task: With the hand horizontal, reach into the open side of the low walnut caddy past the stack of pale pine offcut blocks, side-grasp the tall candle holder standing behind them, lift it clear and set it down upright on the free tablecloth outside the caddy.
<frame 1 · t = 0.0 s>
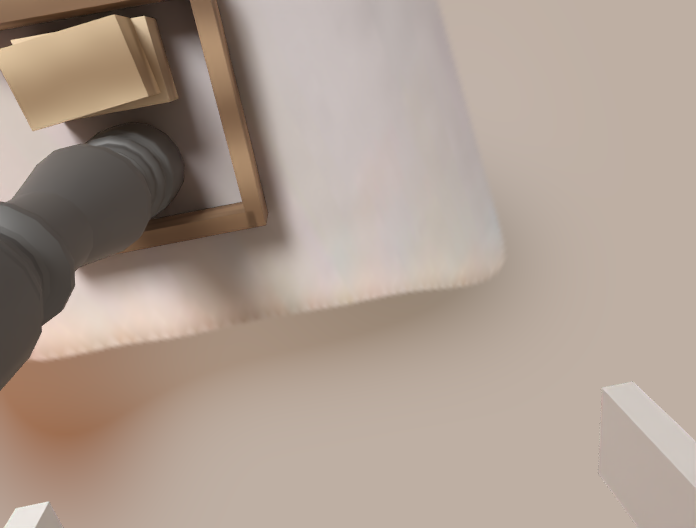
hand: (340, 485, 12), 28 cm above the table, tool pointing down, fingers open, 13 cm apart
offcut lower: (109, 70, 34), on the table, touching offcut upper
walnut caddy: (125, 124, 35), on the table
offcut upper: (91, 73, 31), point 3 cm above the table, touching offcut lower
candle holder: (140, 166, 36), on the table
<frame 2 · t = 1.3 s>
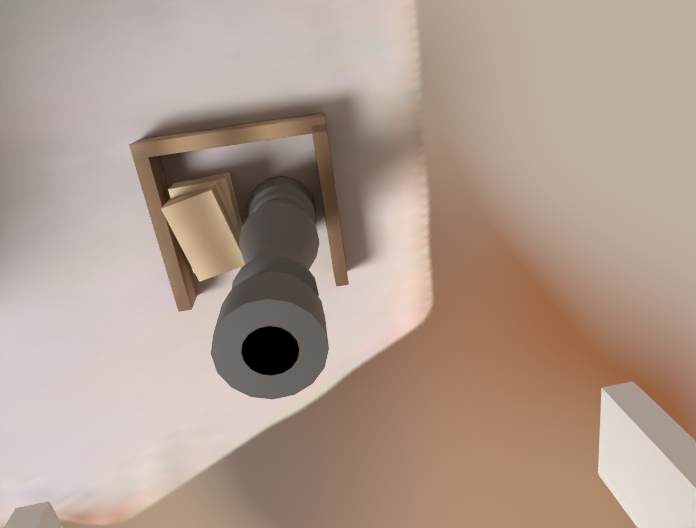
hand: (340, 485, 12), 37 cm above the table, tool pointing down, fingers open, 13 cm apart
offcut lower: (214, 217, 47), on the table, touching offcut upper
walnut caddy: (250, 213, 47), on the table
offcut upper: (210, 226, 45), point 3 cm above the table, touching offcut lower
candle holder: (282, 208, 48), on the table
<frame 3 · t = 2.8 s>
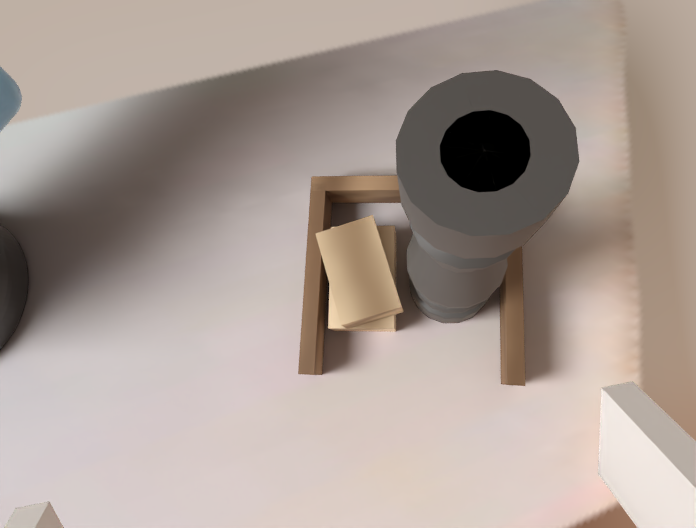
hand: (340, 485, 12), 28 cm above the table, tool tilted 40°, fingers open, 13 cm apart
offcut lower: (366, 283, 41), on the table, touching offcut upper
walnut caddy: (411, 284, 40), on the table
offcut upper: (362, 276, 39), point 3 cm above the table, touching offcut lower
candle holder: (449, 285, 40), on the table
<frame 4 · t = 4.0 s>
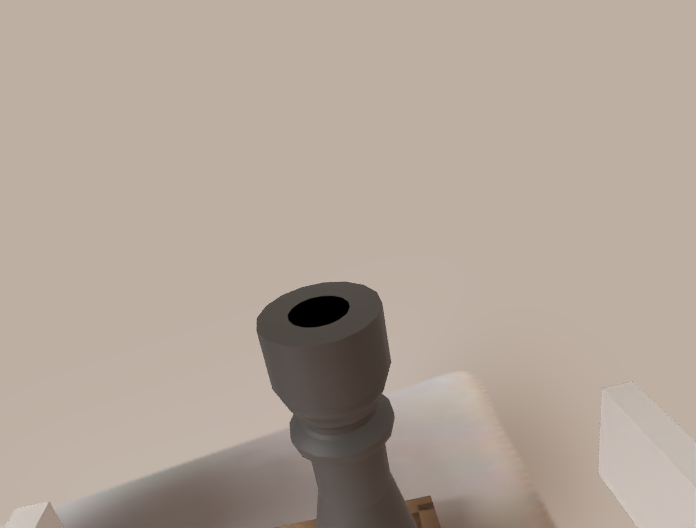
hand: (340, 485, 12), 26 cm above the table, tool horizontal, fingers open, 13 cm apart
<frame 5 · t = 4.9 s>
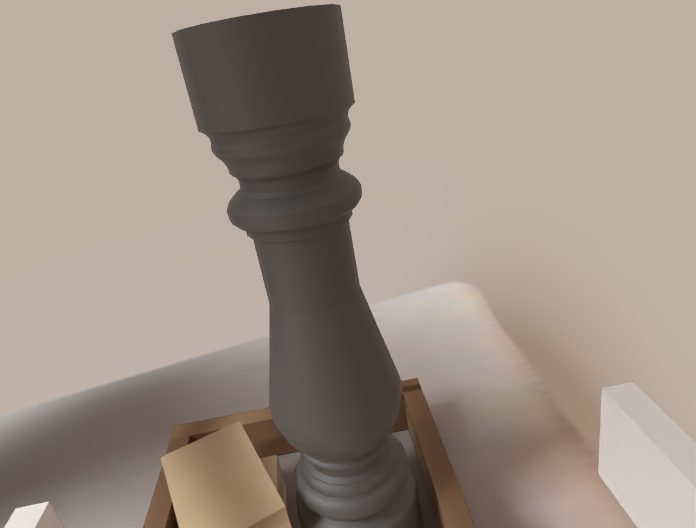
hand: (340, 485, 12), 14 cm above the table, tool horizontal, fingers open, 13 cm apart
offcut upper: (232, 522, 26), point 3 cm above the table, touching offcut lower
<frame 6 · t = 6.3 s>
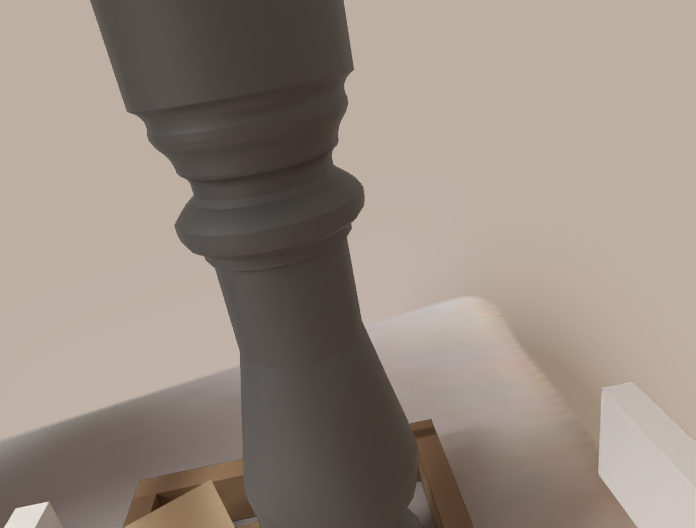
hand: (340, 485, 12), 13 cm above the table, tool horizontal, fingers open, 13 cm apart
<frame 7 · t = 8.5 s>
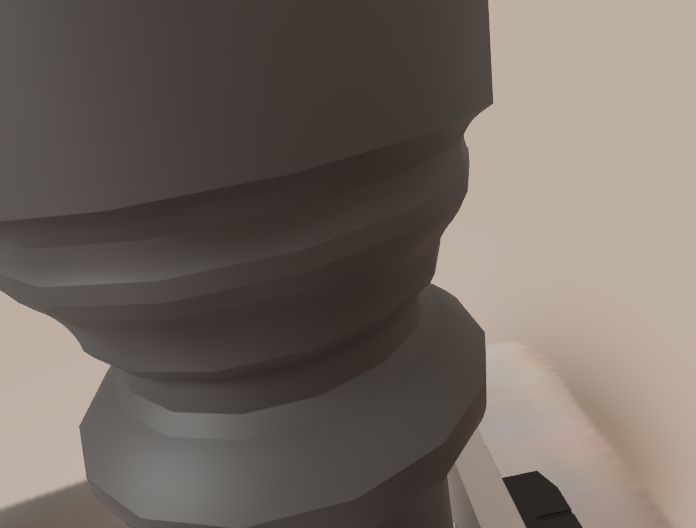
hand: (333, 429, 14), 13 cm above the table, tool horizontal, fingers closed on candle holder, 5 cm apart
when the fingers open (14 cm above the table, at t = 14.7 s): candle holder stays where it is, on the table.
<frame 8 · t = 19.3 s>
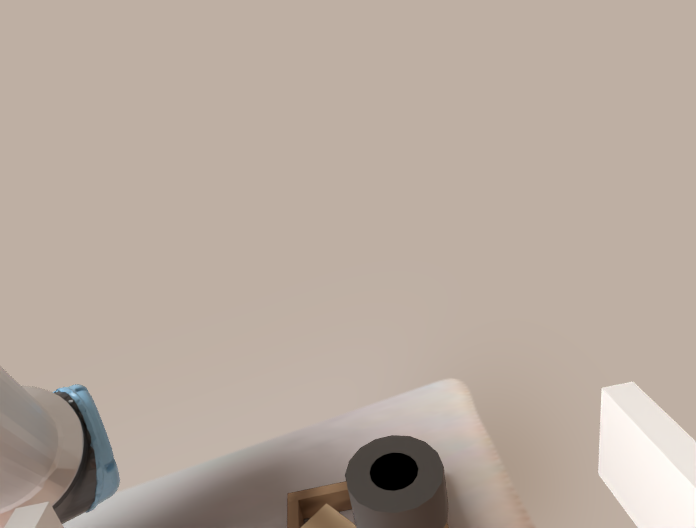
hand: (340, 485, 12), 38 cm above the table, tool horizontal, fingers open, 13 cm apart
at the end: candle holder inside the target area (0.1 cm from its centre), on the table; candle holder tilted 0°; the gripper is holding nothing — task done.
